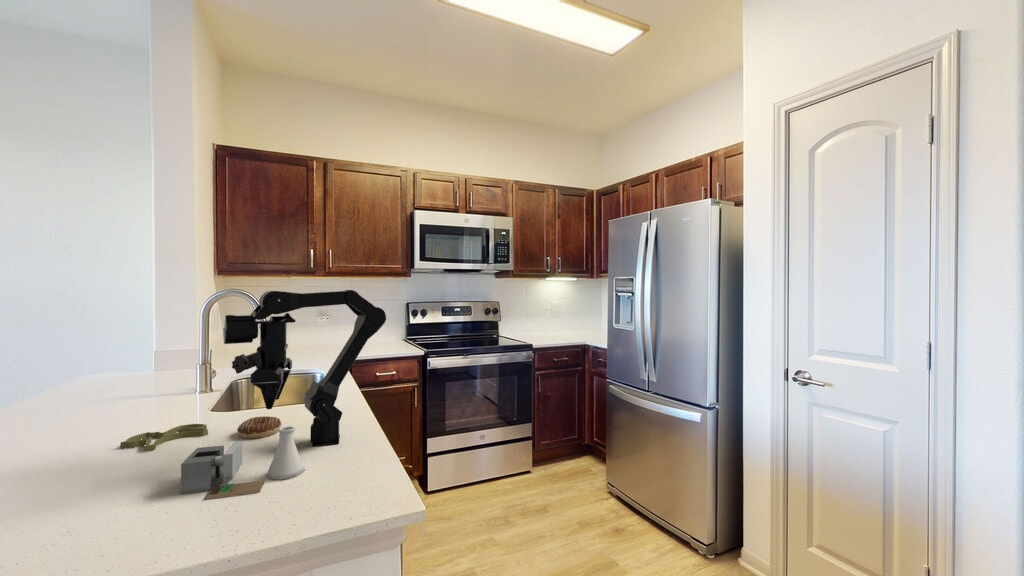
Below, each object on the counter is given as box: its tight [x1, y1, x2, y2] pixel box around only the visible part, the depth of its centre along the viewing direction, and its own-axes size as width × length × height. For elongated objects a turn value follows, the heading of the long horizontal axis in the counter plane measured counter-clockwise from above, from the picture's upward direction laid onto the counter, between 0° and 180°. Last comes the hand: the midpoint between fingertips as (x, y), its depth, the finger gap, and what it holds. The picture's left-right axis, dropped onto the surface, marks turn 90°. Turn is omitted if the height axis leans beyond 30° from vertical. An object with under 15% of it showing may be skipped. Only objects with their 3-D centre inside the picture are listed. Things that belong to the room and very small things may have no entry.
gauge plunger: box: [215, 440, 244, 488], centre depth 90 cm, size 5×12×5 cm, turn 20°
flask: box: [266, 425, 306, 481], centre depth 95 cm, size 7×7×10 cm
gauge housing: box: [180, 445, 265, 500], centre depth 90 cm, size 14×13×6 cm
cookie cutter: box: [119, 423, 209, 453], centre depth 115 cm, size 18×12×2 cm, turn 154°
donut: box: [237, 415, 282, 439], centre depth 121 cm, size 11×11×4 cm
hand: (272, 404), depth 107 cm, fingers open, 9 cm apart
